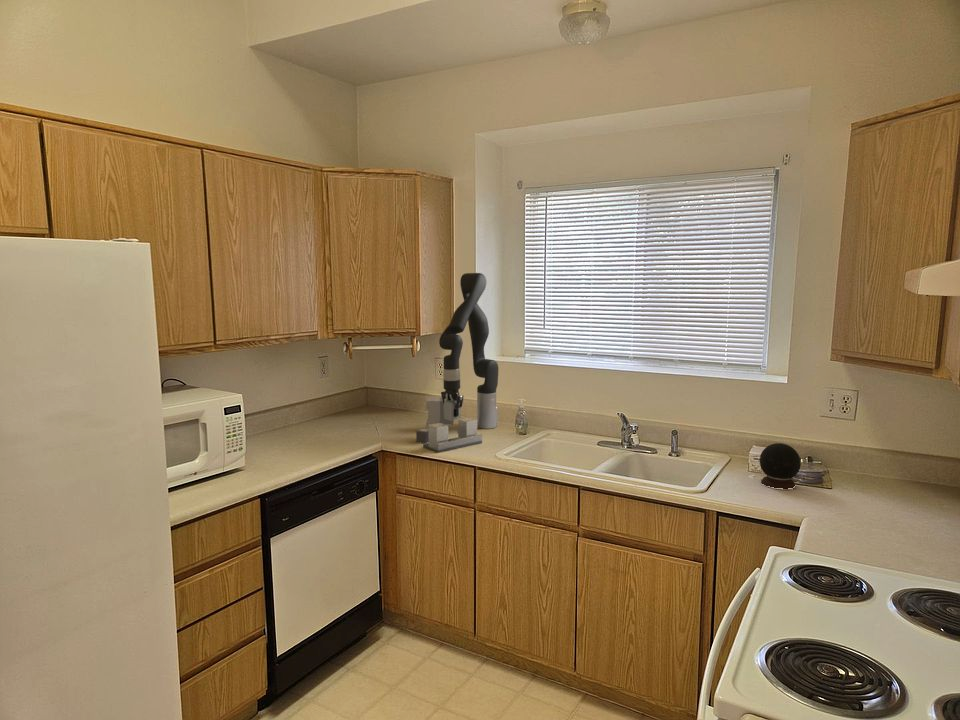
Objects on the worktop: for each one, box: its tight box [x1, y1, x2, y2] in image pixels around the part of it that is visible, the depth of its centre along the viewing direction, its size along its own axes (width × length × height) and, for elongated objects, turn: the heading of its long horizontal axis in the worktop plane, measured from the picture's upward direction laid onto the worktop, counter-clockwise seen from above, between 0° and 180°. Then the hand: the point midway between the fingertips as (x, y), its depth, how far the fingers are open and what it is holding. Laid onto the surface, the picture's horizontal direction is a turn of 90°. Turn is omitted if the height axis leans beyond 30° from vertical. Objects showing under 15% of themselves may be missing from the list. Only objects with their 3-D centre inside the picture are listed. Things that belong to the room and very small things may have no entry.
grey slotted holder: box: [422, 417, 483, 454], centre depth 270 cm, size 24×11×10 cm, turn 130°
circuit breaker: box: [425, 397, 455, 429], centre depth 295 cm, size 8×14×15 cm, turn 89°
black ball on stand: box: [759, 442, 802, 489], centre depth 220 cm, size 13×13×15 cm
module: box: [444, 400, 462, 421], centre depth 281 cm, size 6×4×9 cm
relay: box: [415, 428, 429, 444], centre depth 276 cm, size 5×5×5 cm
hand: (452, 415), depth 281 cm, fingers closed on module, 4 cm apart
